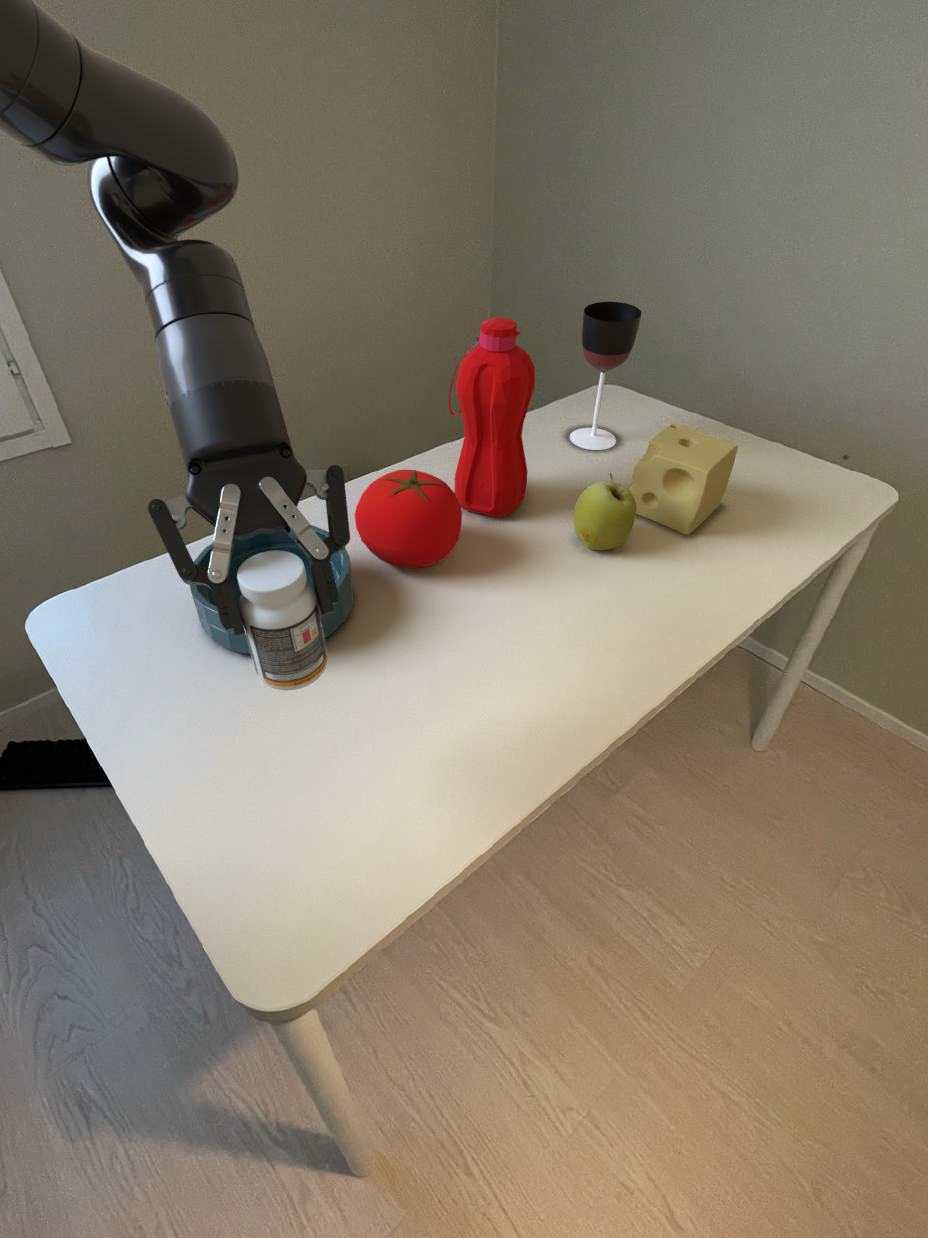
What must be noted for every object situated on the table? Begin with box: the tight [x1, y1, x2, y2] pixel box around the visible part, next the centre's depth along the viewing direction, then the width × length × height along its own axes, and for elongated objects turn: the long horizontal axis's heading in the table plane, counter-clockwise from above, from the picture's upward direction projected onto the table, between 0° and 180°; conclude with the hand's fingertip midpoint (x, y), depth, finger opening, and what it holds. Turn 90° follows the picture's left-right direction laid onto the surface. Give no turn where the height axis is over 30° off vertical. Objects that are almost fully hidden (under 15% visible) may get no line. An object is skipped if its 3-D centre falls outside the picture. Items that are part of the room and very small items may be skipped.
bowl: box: [189, 524, 354, 655], centre depth 80 cm, size 17×17×6 cm
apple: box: [573, 473, 637, 551], centre depth 90 cm, size 8×8×10 cm
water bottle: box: [448, 316, 536, 518], centre depth 92 cm, size 9×11×25 cm
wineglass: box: [569, 301, 642, 451], centre depth 108 cm, size 8×9×20 cm
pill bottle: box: [237, 550, 329, 691], centre depth 53 cm, size 6×6×10 cm
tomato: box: [354, 469, 463, 569], centre depth 87 cm, size 12×13×11 cm
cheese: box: [627, 422, 739, 536], centre depth 96 cm, size 10×11×10 cm
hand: (285, 623), depth 51 cm, fingers closed on pill bottle, 5 cm apart
